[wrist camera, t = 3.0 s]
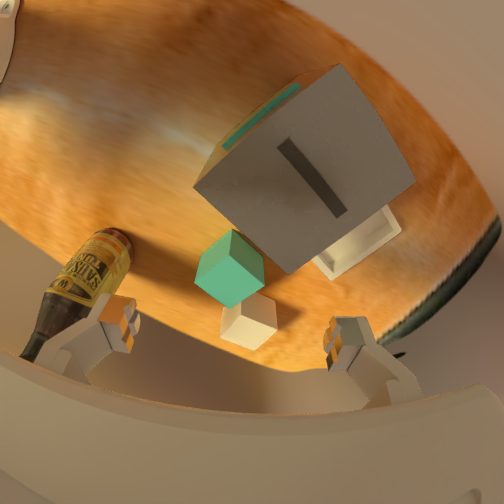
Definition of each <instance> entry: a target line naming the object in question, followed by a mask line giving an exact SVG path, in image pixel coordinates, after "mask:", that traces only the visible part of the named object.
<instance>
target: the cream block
mask: <svg viewBox="0 0 504 504" xmlns="http://www.w3.org/2000/svg"><path fill="white" fill-rule="evenodd" d="M277 330H278V327H277V316H276V305H275V301H274V300H272V299H270V298H268V297H266V296H263V295H261V294H259V293H257V292H255V293H253V294H252V295H250V296H249V297H247V298H246V299H244V300H243V301H241V302H240V303H238V304H237V305H235V306H233V307H232V308H230V309H229V308H227V307H226V306H225V307H224V308H223V310H222V320H221V330H220V338H221V339H224V340H227V341H229V342H232V343H235V344H237V345H240V346H243V347H246V348H248V349H251V350H254V351H255V350H256V349H257V348H258V347H259V346H260V345H262V344H263V343H264V342H265V341H266V340H267V339H268V338H269V337H270V336H272V335H273V334H274V333H275V332H276V331H277Z"/></svg>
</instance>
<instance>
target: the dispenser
mask: <svg viewBox="0 0 504 504" xmlns="http://www.w3.org/2000/svg"><path fill="white" fill-rule="evenodd" d="M415 182H416V179H415V177H414V175H413V173H412V171H411V169H410V167H409V166H408V164H407V162H406V160H405V158H404V156H403V154H402V153H401V151H400V149H399V147H398V146H397V144H396V142H395V140H394V139H393V137H392V135H391V134H390V132H389V131H388V129H387V127H386V126H385V124H384V123H383V121H382V119H381V118H380V116H379V115H378V113H377V112H376V110H375V109H374V107H373V106H372V104H371V103H370V102H369V100H368V99H367V97H366V96H365V95H364V93H363V92H362V90H361V89H360V88H359V86H358V85H357V84H356V82H355V81H354V80H353V78H352V77H351V76H350V75H349V73H348V72H347V71H346V70H345V68H344V67H343V66H342V65H341V64H337V65H333V66H329V67H325V68H321V69H317V70H314V71H310V72H307V73H303V74H300V75H298V76H297V77H296V78H294V79H293V80H292V81H290V82H289V83H288V84H287V85H285V86H284V87H283V88H281V89H280V90H279V91H278V92H276V93H275V94H274V95H273V96H271V97H270V98H269V99H268V100H267V101H265V102H264V103H263V104H262V105H261V106H259V107H258V108H257V109H256V110H255V111H253V112H252V113H251V114H250V115H249V116H248V117H247V118H245V119H244V120H243V121H242V122H241V123H240V124H239V125H237V126H236V127H235V128H234V129H233V130H232V131H231V132H230V133H229V134H228V135H226V136H225V137H224V138H223V139H222V140H221V141H220V142H219V143H218V144H217V146H216V148H215V149H214V151H213V153H212V154H211V156H210V158H209V160H208V161H207V163H206V165H205V166H204V168H203V170H202V172H201V174H200V175H199V177H198V179H197V181H196V182H195V184H194V186H193V188H194V189H195V190H196V191H197V192H198V193H200V194H201V195H202V196H203V197H204V198H205V199H206V200H207V201H208V202H209V203H211V204H212V205H213V206H214V207H215V208H216V209H217V210H218V211H219V212H220V213H221V214H223V215H224V216H225V217H226V218H227V219H228V220H229V221H230V222H231V223H232V224H233V225H235V226H236V227H237V228H238V229H239V230H240V231H241V232H242V233H243V234H244V235H245V236H246V237H248V238H249V239H250V240H251V241H252V242H253V243H254V244H255V245H256V246H257V247H258V248H260V249H261V250H262V251H263V252H264V253H265V254H266V255H267V256H268V257H269V258H270V259H271V260H272V261H274V262H275V263H276V264H277V265H278V266H279V267H280V268H281V269H282V270H283V271H284V272H285V273H286V274H288V275H289V274H291V273H292V272H294V271H295V270H297V269H298V268H300V267H301V266H303V265H304V264H305V263H307V262H308V261H310V260H311V259H313V258H314V257H315V256H317V255H318V254H320V253H321V252H322V251H324V250H325V249H327V248H328V247H330V246H331V245H332V244H334V243H335V242H336V241H338V240H339V239H341V238H342V237H343V236H345V235H346V234H348V233H349V232H350V231H352V230H353V229H354V228H356V227H357V226H358V225H360V224H361V223H363V222H364V221H365V220H367V219H368V218H369V217H371V216H372V215H373V214H375V213H376V212H377V211H379V210H380V209H381V208H383V207H384V206H385V205H387V204H388V203H389V202H390V201H392V200H393V199H394V198H396V197H397V196H398V195H400V194H401V193H402V192H403V191H405V190H406V189H407V188H409V187H410V186H411V185H412V184H414V183H415Z"/></svg>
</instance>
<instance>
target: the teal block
mask: <svg viewBox="0 0 504 504" xmlns="http://www.w3.org/2000/svg"><path fill="white" fill-rule="evenodd" d="M194 283H195V284H196V285H198V286H199V287H200V288H202V289H203V290H204V291H206V292H207V293H208V294H210V295H211V296H212V297H214V298H215V299H216V300H218V301H219V302H220V303H222V304H223V305H224V306H226V307H227V308H229V309H230V308H232V307H233V306H235V305H237V304H238V303H240V302H241V301H243V300H244V299H246V298H247V297H249V296H250V295H252V294H253V293H255V292H256V291H258V290H259V289H261V288H262V287H264V286H265V280H264V262H263V256H261V255H260V254H259V253H258V252H257V251H256V250H255V249H254V248H253V247H252V246H251V245H249V244H248V243H247V242H246V241H245V240H244V239H243V238H242V237H241V236H240V235H239V234H238V233H236V232H235V231H234V230H233V229H231V230H230V231H229V232H228V233H227V234H225V235H224V236H223V237H222V238H221V239H219V240H218V241H217V242H216V243H215V244H213V245H212V246H211V247H210V248H209V249H207V250H206V251H205V252H204V253H203V254H202V255H201V258H200V261H199V265H198V269H197V273H196V277H195V281H194Z"/></svg>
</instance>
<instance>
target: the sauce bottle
mask: <svg viewBox="0 0 504 504" xmlns="http://www.w3.org/2000/svg"><path fill="white" fill-rule="evenodd" d="M133 257H134V250H133V247H132V244H131V242H130V241H129V240H128V238H127V237H126V236H125V235H123V234H122V233H121V232H119V231H117V230H115V229H111V228H106V229H102V230H100V231H98V232H96V233H95V234H93V235H92V236H91V237H90V238H89V239H88V240H87V241H86V242H85V243H84V244H83V246H82V247H81V248H80V249H79V250H78V251H77V253H76V254H75V255H74V256H73V257H72V258H71V260H70V261H69V262H68V263H67V264H66V266H65V267H64V268H63V269H62V271H61V272H60V273H59V274H58V276H57V277H56V279H55V280H54V281H53V282H52V284H51V285H50V286H49V288H48V289H47V290H46V292H45V293H44V297H43V300H42V303H41V307H40V310H39V314H38V317H37V323H36V326H35V329H34V332H33V334H32V335H31V339H30V341H29V342H28V344H27V345H26V347H25V349H24V351H23V353H22V354H21V355H20V356H18V357H20V358H23V359H25V360H27V361H29V362H31V363H34V361H35V359H36V357H37V355H38V354H39V352H40V350H41V348H42V346H43V345H44V343H45V342H46V341H47V340H49V339H51V338H52V337H54V336H55V335H57V334H59V333H60V332H62V331H63V330H65V329H67V328H68V327H70V326H71V325H73V324H75V323H76V322H78V321H80V320H81V319H83V318H87V317H88V315H89V313H90V311H91V310H92V308H93V306H94V305H95V303H96V301H97V300H98V298H99V296H100V295H101V294H102V293H108V294H115V292H116V291H117V289H118V287H119V285H120V284H121V282H122V280H123V279H124V277H125V275H126V274H127V272H128V270H129V268H130V265H131V264H132V261H133Z"/></svg>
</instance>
